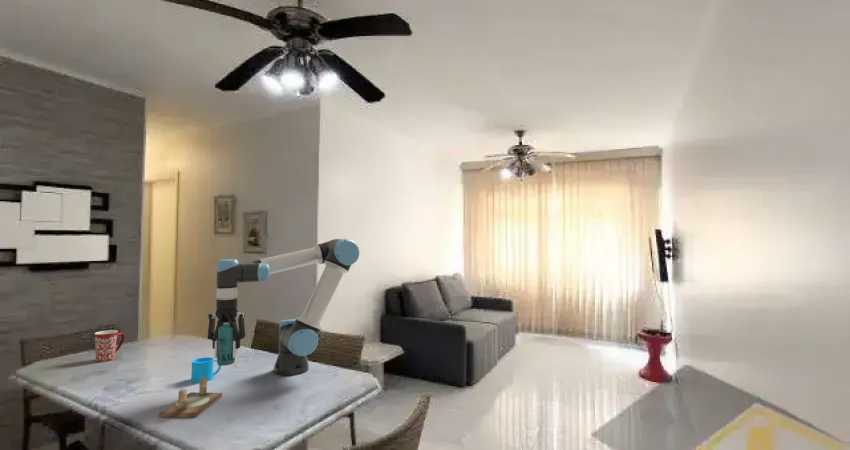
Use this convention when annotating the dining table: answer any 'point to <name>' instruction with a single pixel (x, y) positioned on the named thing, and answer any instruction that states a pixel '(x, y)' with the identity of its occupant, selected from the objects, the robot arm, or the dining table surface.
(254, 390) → the dining table surface
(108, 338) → the mug
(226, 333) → the beverage bottle
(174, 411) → the wooden board with pegs
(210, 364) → the mug
